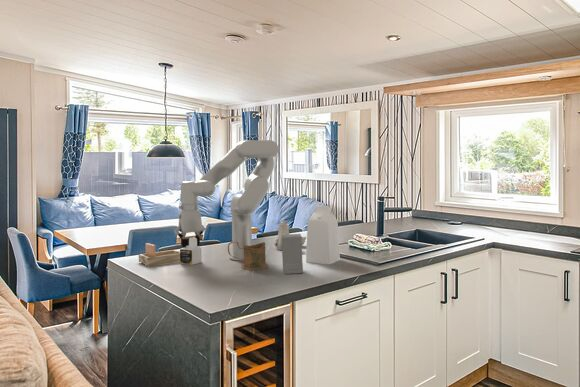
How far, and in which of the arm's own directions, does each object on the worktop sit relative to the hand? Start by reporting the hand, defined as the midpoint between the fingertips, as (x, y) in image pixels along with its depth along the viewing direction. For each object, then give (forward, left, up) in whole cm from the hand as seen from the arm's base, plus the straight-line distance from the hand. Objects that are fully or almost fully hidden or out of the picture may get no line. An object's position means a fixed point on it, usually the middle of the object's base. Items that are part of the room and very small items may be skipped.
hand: (190, 245), depth 209 cm
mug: (-27, -14, -8) cm, 32 cm away
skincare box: (-48, -22, -8) cm, 53 cm away
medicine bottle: (0, 0, -8) cm, 8 cm away
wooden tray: (+12, +9, -8) cm, 17 cm away
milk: (-39, -48, -8) cm, 62 cm away
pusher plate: (+12, +15, -7) cm, 20 cm away
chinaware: (-2, -58, -8) cm, 58 cm away
